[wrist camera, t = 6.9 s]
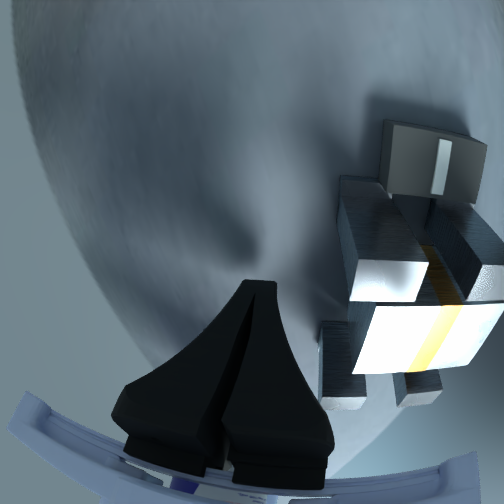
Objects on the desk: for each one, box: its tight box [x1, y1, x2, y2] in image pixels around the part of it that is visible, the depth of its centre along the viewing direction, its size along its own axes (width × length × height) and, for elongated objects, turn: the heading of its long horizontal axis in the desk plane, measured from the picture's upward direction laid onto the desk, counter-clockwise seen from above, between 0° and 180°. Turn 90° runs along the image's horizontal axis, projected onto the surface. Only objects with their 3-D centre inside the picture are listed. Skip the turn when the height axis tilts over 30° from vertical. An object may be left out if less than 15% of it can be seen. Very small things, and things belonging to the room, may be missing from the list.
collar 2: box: [392, 198, 504, 407], centre depth 10 cm, size 10×2×4 cm, turn 3°
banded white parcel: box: [347, 245, 504, 374], centre depth 11 cm, size 6×4×4 cm
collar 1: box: [318, 175, 429, 410], centre depth 11 cm, size 10×2×4 cm, turn 3°
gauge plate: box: [378, 120, 487, 204], centre depth 8 cm, size 2×4×1 cm, turn 93°
